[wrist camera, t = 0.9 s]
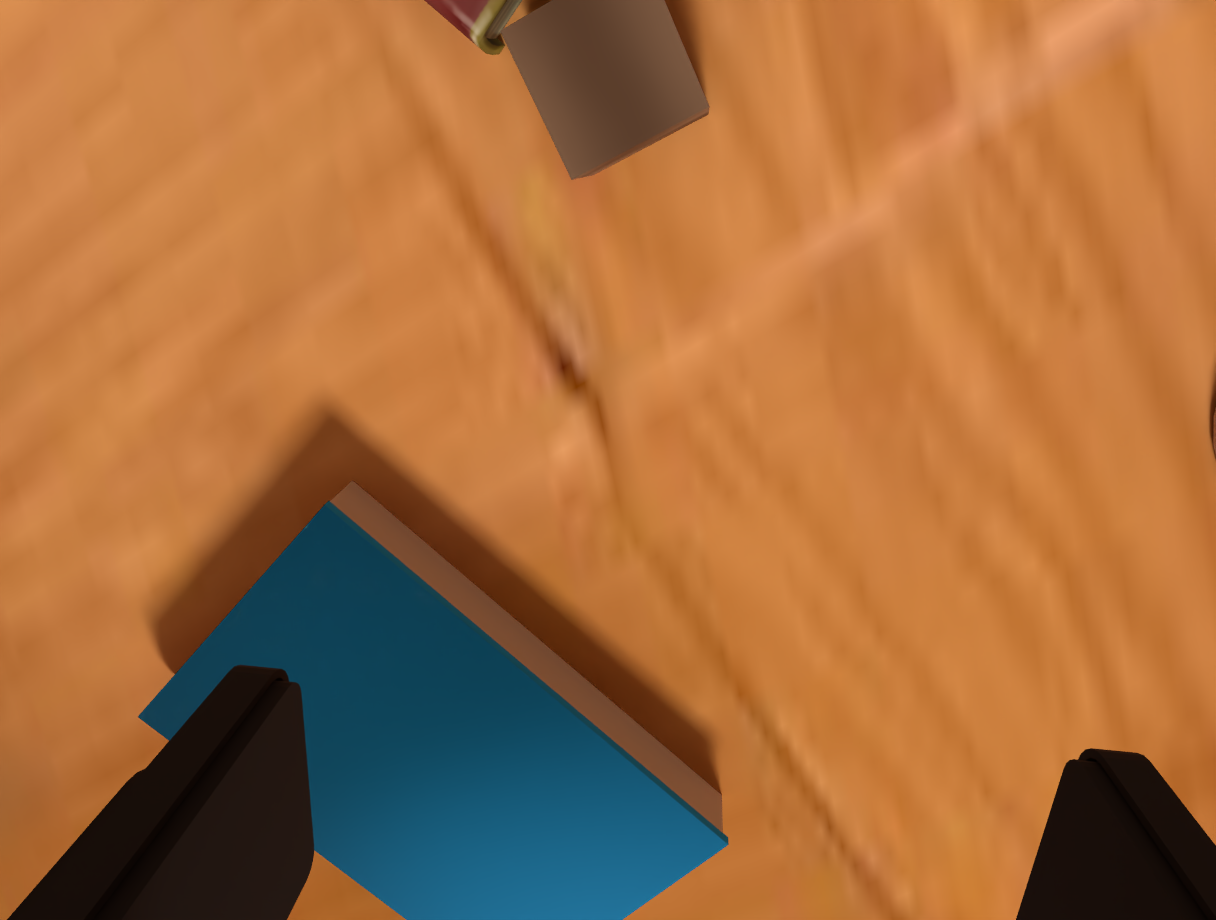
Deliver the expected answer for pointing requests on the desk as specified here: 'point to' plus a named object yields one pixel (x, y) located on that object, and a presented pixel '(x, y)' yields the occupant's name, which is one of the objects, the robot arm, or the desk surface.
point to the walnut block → (605, 77)
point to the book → (452, 736)
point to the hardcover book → (478, 19)
